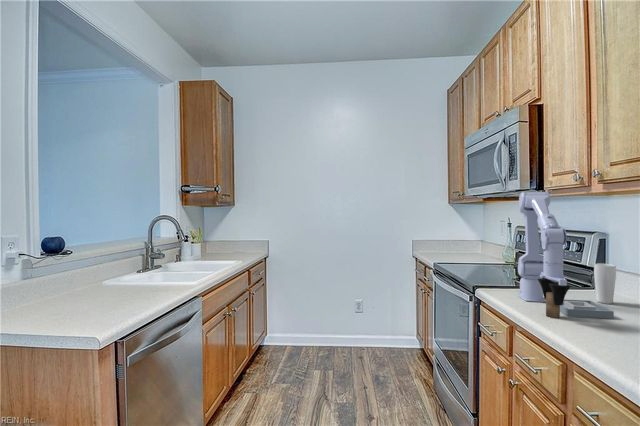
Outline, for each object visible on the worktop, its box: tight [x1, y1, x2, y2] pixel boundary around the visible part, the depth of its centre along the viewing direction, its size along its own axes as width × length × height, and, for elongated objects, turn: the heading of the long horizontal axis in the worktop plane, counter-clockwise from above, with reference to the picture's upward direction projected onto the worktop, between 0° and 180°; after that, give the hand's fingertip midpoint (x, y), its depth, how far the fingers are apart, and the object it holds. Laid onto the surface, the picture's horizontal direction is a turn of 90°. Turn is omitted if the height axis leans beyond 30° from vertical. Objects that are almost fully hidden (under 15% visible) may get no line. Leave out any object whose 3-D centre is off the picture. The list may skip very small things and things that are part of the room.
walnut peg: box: [545, 292, 561, 319], centre depth 121 cm, size 4×4×8 cm
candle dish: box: [560, 298, 615, 320], centre depth 127 cm, size 14×14×3 cm
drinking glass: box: [593, 263, 617, 305], centre depth 138 cm, size 7×7×15 cm
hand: (553, 302), depth 121 cm, fingers open, 7 cm apart
